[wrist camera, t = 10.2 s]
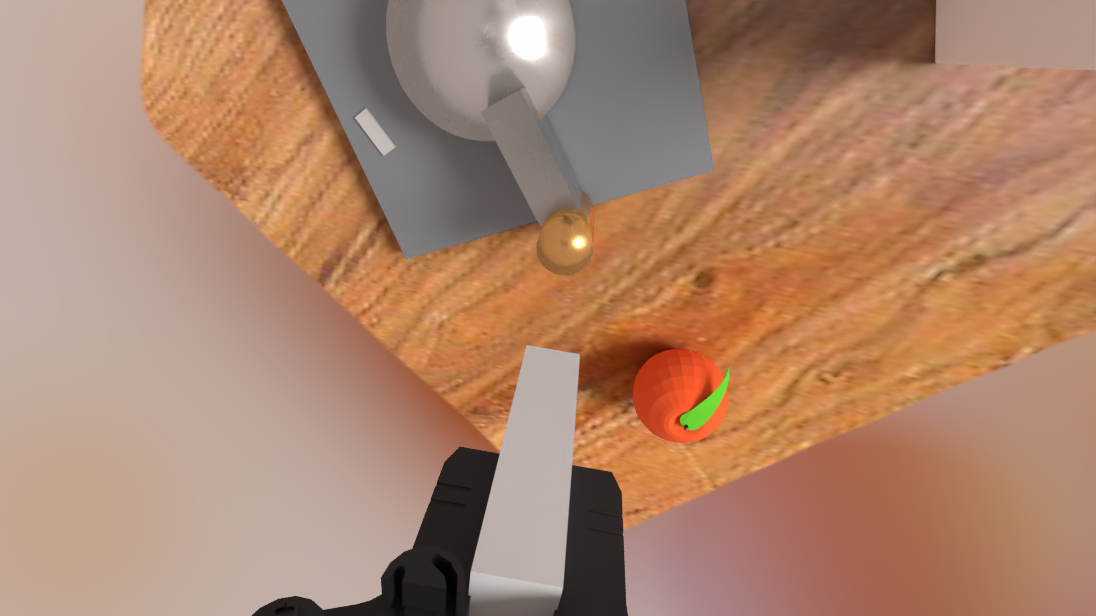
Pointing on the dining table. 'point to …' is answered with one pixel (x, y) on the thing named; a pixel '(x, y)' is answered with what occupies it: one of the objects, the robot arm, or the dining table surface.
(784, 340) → the dining table surface
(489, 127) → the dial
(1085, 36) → the milk
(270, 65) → the dining table surface
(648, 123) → the plate
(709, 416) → the clementine
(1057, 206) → the dining table surface
